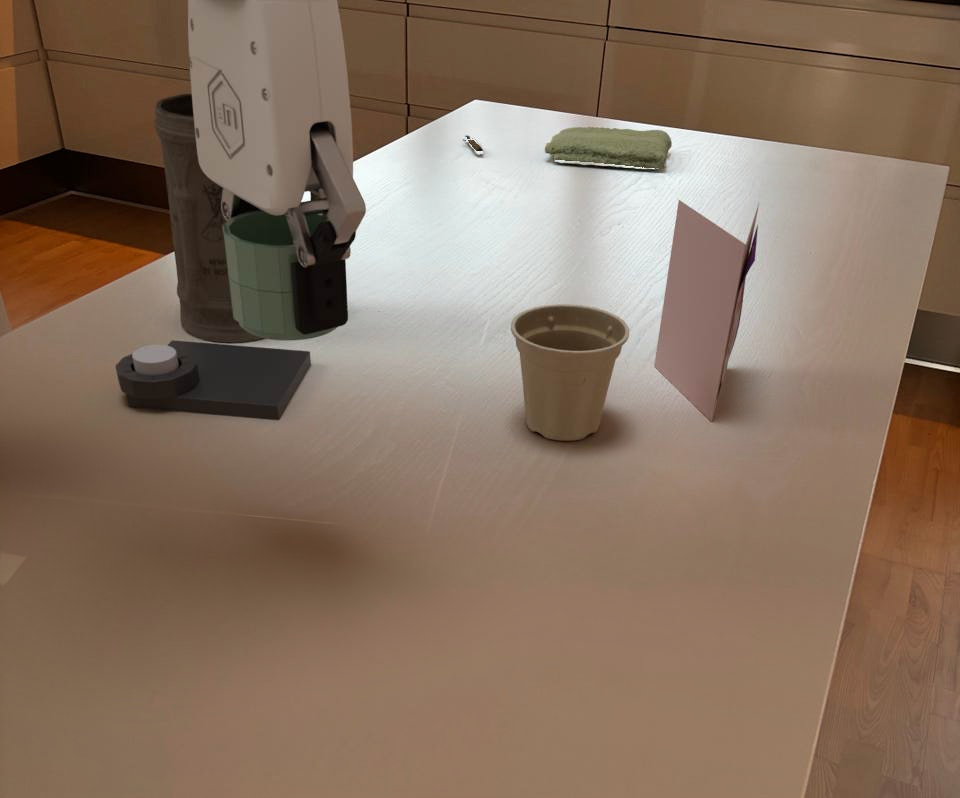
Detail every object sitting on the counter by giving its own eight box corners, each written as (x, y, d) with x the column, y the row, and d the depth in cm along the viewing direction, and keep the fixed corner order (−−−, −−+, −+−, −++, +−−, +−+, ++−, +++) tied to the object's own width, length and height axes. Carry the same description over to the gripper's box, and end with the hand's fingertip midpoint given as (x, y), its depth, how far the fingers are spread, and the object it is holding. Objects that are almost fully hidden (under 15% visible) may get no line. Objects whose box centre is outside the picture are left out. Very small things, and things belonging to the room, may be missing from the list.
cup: (218, 337, 60) (206, 241, 56) (253, 294, 65) (243, 204, 62) (331, 347, 59) (326, 252, 56) (357, 303, 65) (354, 213, 61)
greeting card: (721, 423, 88) (757, 246, 78) (636, 409, 89) (660, 233, 80) (736, 369, 96) (769, 203, 87) (657, 357, 98) (682, 192, 88)
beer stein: (182, 350, 96) (161, 115, 83) (165, 307, 103) (144, 86, 91) (342, 341, 101) (345, 119, 89) (315, 301, 108) (314, 91, 96)
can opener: (483, 156, 150) (483, 147, 149) (467, 156, 150) (468, 147, 149) (475, 140, 157) (475, 132, 156) (460, 140, 157) (460, 132, 156)
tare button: (128, 375, 86) (125, 360, 85) (144, 357, 88) (141, 342, 87) (170, 379, 85) (167, 364, 84) (184, 361, 88) (182, 346, 87)
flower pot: (536, 461, 82) (544, 359, 76) (487, 409, 88) (491, 312, 83) (637, 440, 85) (652, 341, 80) (583, 392, 92) (593, 297, 86)
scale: (111, 411, 86) (103, 377, 84) (161, 353, 95) (155, 322, 93) (276, 425, 85) (272, 391, 83) (311, 365, 94) (308, 334, 92)
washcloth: (556, 141, 158) (558, 119, 156) (671, 152, 156) (674, 129, 153) (542, 164, 148) (543, 140, 146) (664, 175, 146) (667, 151, 144)
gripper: (117, -66, 54) (169, 273, 65) (280, -18, 43) (308, 374, 55) (246, -69, 57) (274, 252, 69) (425, -26, 47) (423, 343, 58)
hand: (289, 304), depth 62 cm, fingers closed on cup, 6 cm apart
